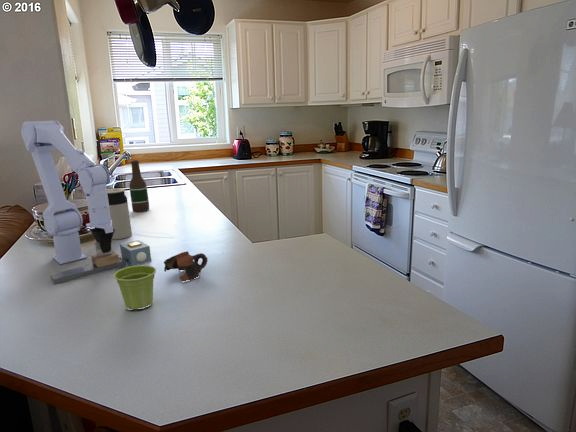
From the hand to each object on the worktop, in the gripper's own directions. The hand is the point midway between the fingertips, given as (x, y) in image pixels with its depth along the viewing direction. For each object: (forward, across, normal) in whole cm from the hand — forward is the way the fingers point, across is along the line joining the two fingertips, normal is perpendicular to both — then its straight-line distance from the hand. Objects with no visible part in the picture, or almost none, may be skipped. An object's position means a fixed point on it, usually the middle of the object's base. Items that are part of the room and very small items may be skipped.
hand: (105, 251), depth 127 cm
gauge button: (+3, 0, +9) cm, 9 cm away
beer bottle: (+5, -69, +38) cm, 79 cm away
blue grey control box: (+5, 0, +9) cm, 10 cm away
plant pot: (+5, +33, -3) cm, 34 cm away
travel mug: (+5, -31, +15) cm, 35 cm away
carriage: (+3, 0, 0) cm, 3 cm away
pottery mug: (+6, +24, +14) cm, 28 cm away
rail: (+5, 0, -5) cm, 7 cm away
